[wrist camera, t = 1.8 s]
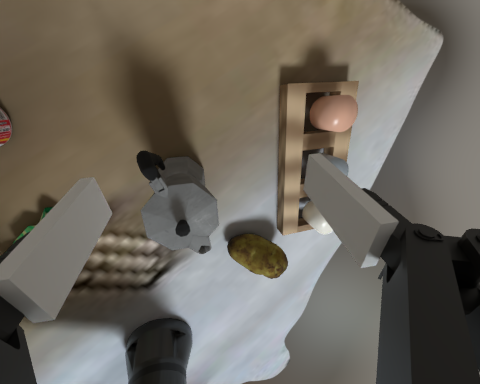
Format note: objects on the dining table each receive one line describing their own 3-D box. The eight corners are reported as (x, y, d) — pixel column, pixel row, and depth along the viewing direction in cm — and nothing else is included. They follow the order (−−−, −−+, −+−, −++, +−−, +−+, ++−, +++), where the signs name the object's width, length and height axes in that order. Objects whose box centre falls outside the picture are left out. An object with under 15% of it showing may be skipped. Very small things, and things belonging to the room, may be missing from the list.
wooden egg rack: (329, 217, 52) (337, 223, 50) (277, 228, 49) (282, 235, 46) (346, 82, 40) (358, 80, 38) (280, 85, 37) (287, 83, 35)
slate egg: (328, 178, 43) (345, 186, 39) (304, 181, 42) (319, 190, 38) (331, 151, 41) (350, 156, 37) (306, 154, 40) (322, 160, 36)
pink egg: (334, 127, 39) (354, 130, 35) (308, 130, 38) (325, 133, 34) (338, 95, 37) (360, 93, 33) (310, 96, 36) (329, 95, 32)
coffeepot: (219, 195, 42) (244, 251, 26) (177, 218, 41) (176, 289, 25) (178, 123, 35) (179, 137, 19) (127, 148, 35) (83, 186, 19)
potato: (246, 217, 46) (258, 237, 39) (281, 244, 51) (298, 266, 44) (221, 243, 47) (228, 268, 39) (258, 267, 52) (271, 293, 45)
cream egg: (323, 219, 47) (338, 231, 43) (301, 224, 46) (314, 236, 42) (326, 197, 45) (342, 207, 41) (303, 201, 44) (317, 212, 39)
